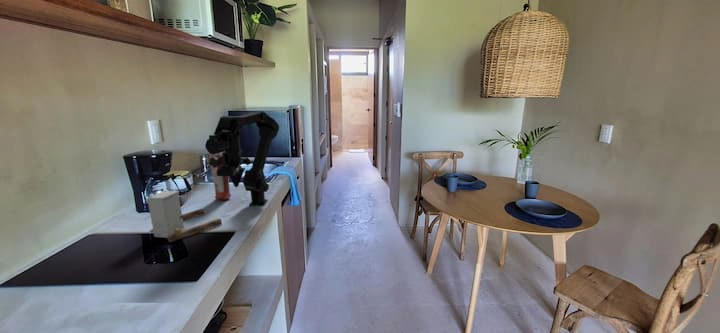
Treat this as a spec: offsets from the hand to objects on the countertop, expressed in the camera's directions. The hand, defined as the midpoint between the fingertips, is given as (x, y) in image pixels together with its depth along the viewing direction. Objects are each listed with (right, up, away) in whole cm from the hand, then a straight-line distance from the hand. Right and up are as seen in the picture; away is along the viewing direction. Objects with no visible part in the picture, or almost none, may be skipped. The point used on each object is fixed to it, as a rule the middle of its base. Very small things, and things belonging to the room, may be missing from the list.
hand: (236, 186), depth 123 cm
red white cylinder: (-14, -7, +20) cm, 25 cm away
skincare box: (-19, -16, -12) cm, 28 cm away
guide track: (-15, -14, -7) cm, 22 cm away
